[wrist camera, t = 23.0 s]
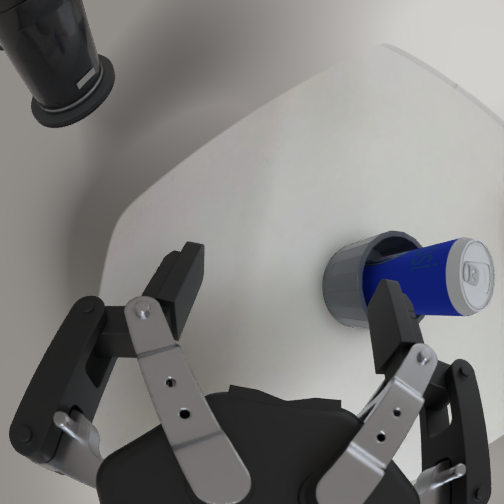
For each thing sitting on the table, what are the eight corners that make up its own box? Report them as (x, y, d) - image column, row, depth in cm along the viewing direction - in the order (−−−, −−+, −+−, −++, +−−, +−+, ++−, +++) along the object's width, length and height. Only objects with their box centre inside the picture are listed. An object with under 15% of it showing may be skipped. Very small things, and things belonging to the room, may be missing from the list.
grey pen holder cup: (306, 274, 29) (338, 267, 22) (366, 229, 31) (405, 213, 24) (349, 344, 28) (387, 355, 22) (403, 295, 30) (444, 293, 24)
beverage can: (386, 267, 29) (497, 245, 15) (379, 314, 28) (493, 318, 14) (346, 257, 29) (457, 224, 14) (338, 307, 28) (453, 312, 13)
